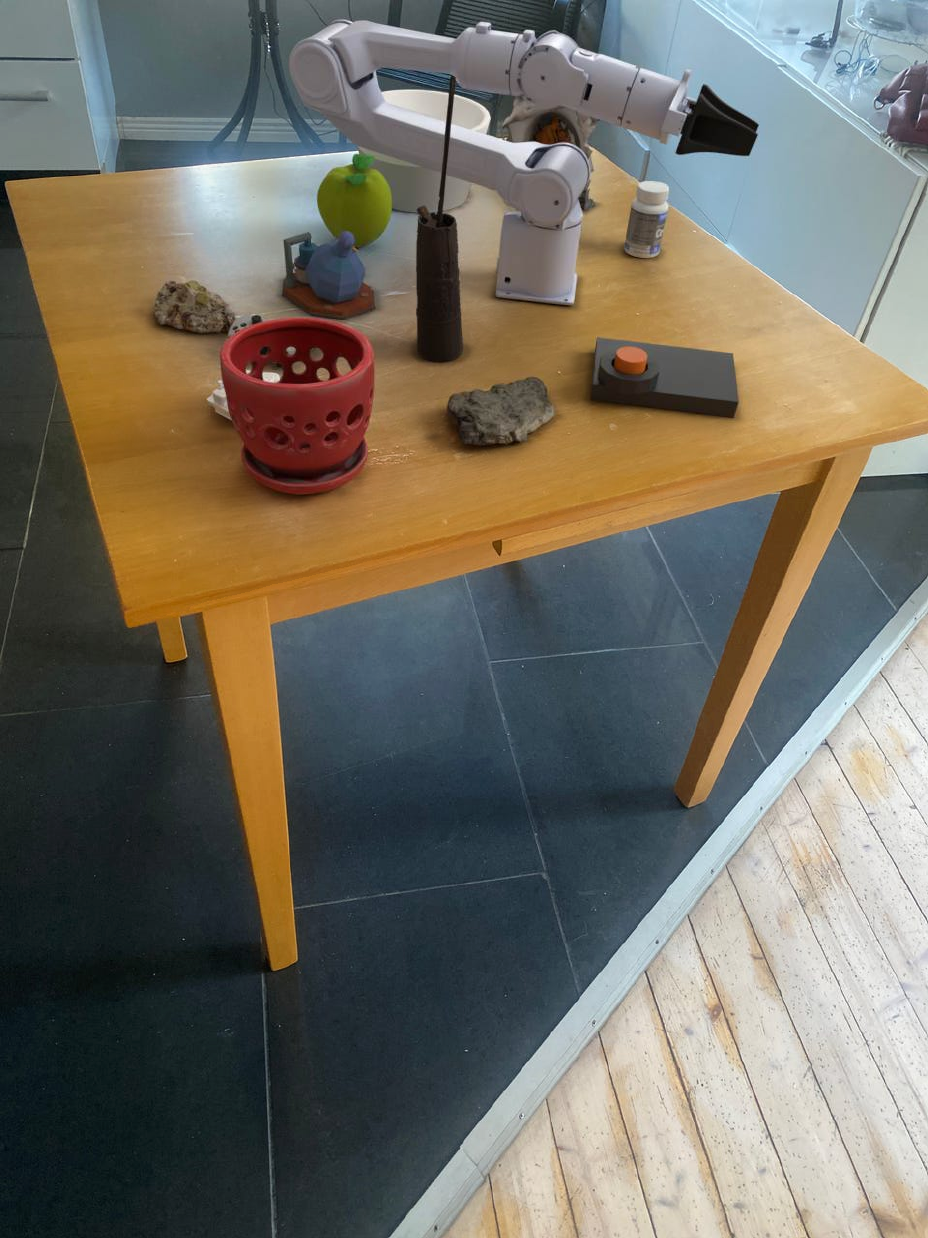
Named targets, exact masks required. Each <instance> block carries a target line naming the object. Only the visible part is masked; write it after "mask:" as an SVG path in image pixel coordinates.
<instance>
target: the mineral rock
mask: <svg viewBox="0 0 928 1238" xmlns="http://www.w3.org/2000/svg"><path fill="white" fill-rule="evenodd" d="M156 295H157V296H156V299H155V300H156V301H155V302H154V317H156V318H157V322H158V323H159V324H160V325H167V326H171V327H173V328H176V329H178V330H189V331H191V332H195V333H198V334H205V333H213V332H214V333H221V332H226V333H229V330H230V328H231V326H232V324H233V322H234V321H235V320H236V317H235V316H236V313H235V312H234V311H233V310H231V308H230V305H229V304H228V303H227V302H226V301H224V300H223V298H222V297H221V295H219V294H218V293H214V292H211V291H210V290H207V287H205V286H204V285H201V284H200V283H199V281H197V280H191V279H190V280H188V281H185V282H178V283H177V282H176V281H175V280H168V281H167V280H166V281H164V284H163V286H162V288H160V290H158V291H157V294H156Z"/></svg>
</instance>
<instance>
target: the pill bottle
mask: <svg viewBox="0 0 928 1238" xmlns="http://www.w3.org/2000/svg"><path fill="white" fill-rule="evenodd" d="M669 192H670V187H669V185H668V184H666V183H664V182H661V181H657V180H644V181H641V182H639V183H638V185H637V188H636V194H635V198H634V199H633V200H632V201H631V206H630V212H629V218H628V223H627V228H626V233H625V240H624V246H623V247H624V252H625V253H627V254H628V255H630V256H632V257H636V258H640V259H650V258H654V257H657V256H658V255H659V254H660V251H661V247H662V241H663V237H664V232H665V227H666V222H667V218H668V212H669V203H668V202H667V201H668V198H669V194H670V193H669Z"/></svg>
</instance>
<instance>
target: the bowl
mask: <svg viewBox="0 0 928 1238" xmlns="http://www.w3.org/2000/svg"><path fill="white" fill-rule="evenodd" d="M381 93H382V95H383V97H384V99H385V101H386V102H387V103H389V104H392V105H395V106H398V107H401V108H405V109H408V110H411V111H414V112H417V113H420V114H423V115H427V116H430V117H433V118H436V119H439V120H442V121H445V122H446V118H447V117H446V116H447V108H448V99H449V92H444V91H438V90H437V91H436V90H430V89H429V90H428V89H394V90H385V91H381ZM491 117H492V116H491V114H490V111H489V110H488V109H487V108H486V107H485V106H484V105H482V104H480V103H479V102H477V101H475V100H473V99H470V98H468V97H464V96H460V95H457V94H454V102H453V112H452V121H451V123H452V124H455V125H458V126H461V127H464V128H467V129H471V130H474V131H477V132H480V133H483V134H486V135H487V133H488V129H489V126H490V122H491ZM356 147H357V151H358V154H364V155H373V156H375V158H374V160H373V161H372V163H371V164H370V165H369V166H368V167H367V168H370V169H375V170H377V171H378V172H380V173H381V174H382V176H383V177H384V178H385V180H386V181H387V183H388V185H389V188H390V191H391V196H392V210H396V211H400V212H405V213H416V214H419V213H418V212H417V208H419V207H421V206H426V207H427V210H428V212H429V213H430V214H431V213H437V211H438V202H439V199H440V197H439V190H440V181H441V173H439V172H436V171H433V170H430V169H427V168H424V167H421V166H418V165H415V164H412V163H409V162H405V161H402V160H399V159H396V158H393V157H390V156H387V155H384V154H381V153H378V152H375V151H371V150H368V149H365V148H362V147H359V146H357V145H356ZM471 186H472V183H470V182H467V181H464V180H461V179H458V178H455V177H452V176H449V175H446V181H445V194H444V204H443V212H446V211H449V210H453V209H456V208H457V207H460V206H461V205H463V204H464V203H465V202H466V201H467V199H468V195H469V192H470V188H471Z"/></svg>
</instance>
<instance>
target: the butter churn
mask: <svg viewBox="0 0 928 1238" xmlns="http://www.w3.org/2000/svg"><path fill="white" fill-rule="evenodd" d="M456 83H457V81H456V77H455V76H454V75H451V76H450V80H449V89H448V93H449V99H448V108H447V116H446V117H447V118H446V127H445V142H444V155H443V163H442V173H441V181H440V190H439V197H440V199H439V202H438V211H437V212H431V213H429V212H428V210H427V207H426V206H421V207H419V208H417V212H418V213H417V214H418V216H417V227H416V228H417V229H416V242H415V278H416V279H415V280H416V281H415V282H416V283H415V284H416V285H415V286H416V309H415V315H416V350H417V353H418V355H419V356H420V357H421V358H422V359H424V360H427V361H428V362H429V361H430V362H433V363H446V362H447V363H448V362H451V361H453V360H457V359H459V358H460V357H461V355H462V354H463V352H464V338H463V337H464V336H463V321H462V307H461V289H460V285H461V281H460V275H461V272H460V271H461V270H460V267H459V240H458V230H457V229H458V228H457V227H458V223H457V219H456V217H455V216H453V215H451V214H449V213H444V211H443V204H444V194H445V181H446V169H447V160H448V150H449V141H450V132H451V121H452V112H453V102H454V95H455V91H456Z"/></svg>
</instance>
